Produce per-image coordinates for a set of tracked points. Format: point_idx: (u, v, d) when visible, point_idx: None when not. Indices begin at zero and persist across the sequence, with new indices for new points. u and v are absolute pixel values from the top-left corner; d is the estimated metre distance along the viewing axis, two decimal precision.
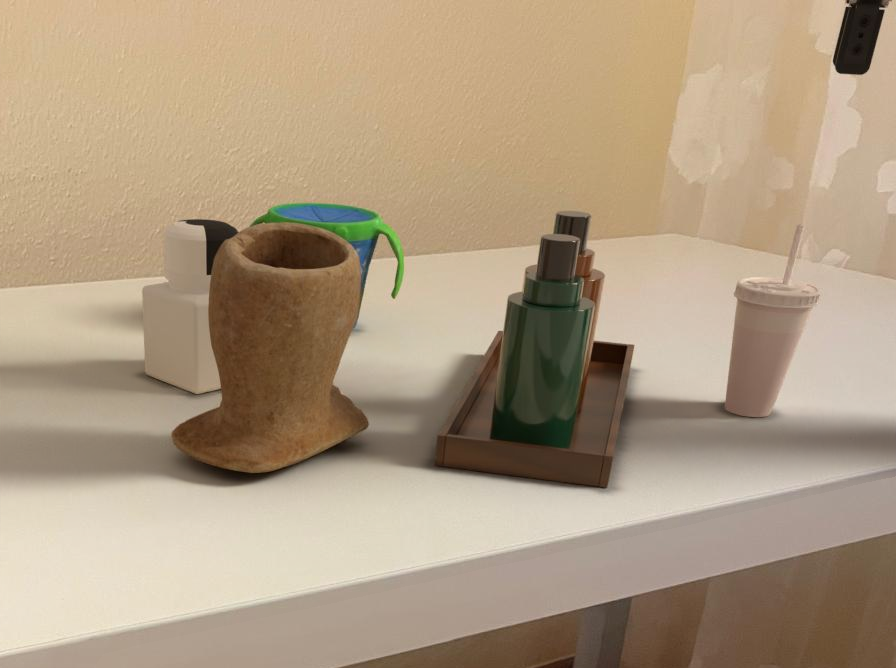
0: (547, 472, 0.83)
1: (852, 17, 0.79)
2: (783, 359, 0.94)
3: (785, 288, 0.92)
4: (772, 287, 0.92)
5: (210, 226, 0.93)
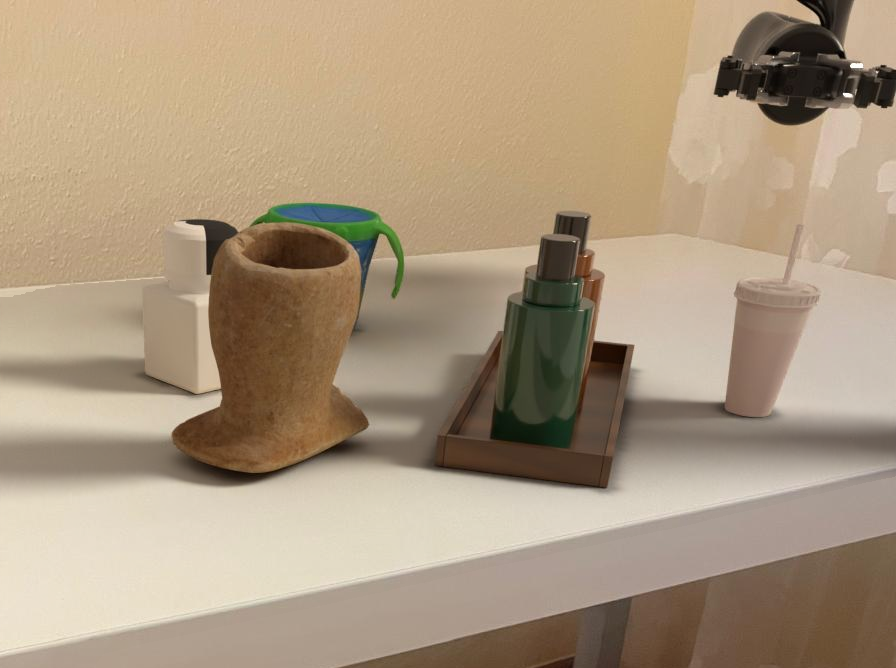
0: (547, 472, 0.83)
1: None
2: (783, 359, 0.94)
3: (785, 288, 0.92)
4: (772, 287, 0.92)
5: (210, 226, 0.93)
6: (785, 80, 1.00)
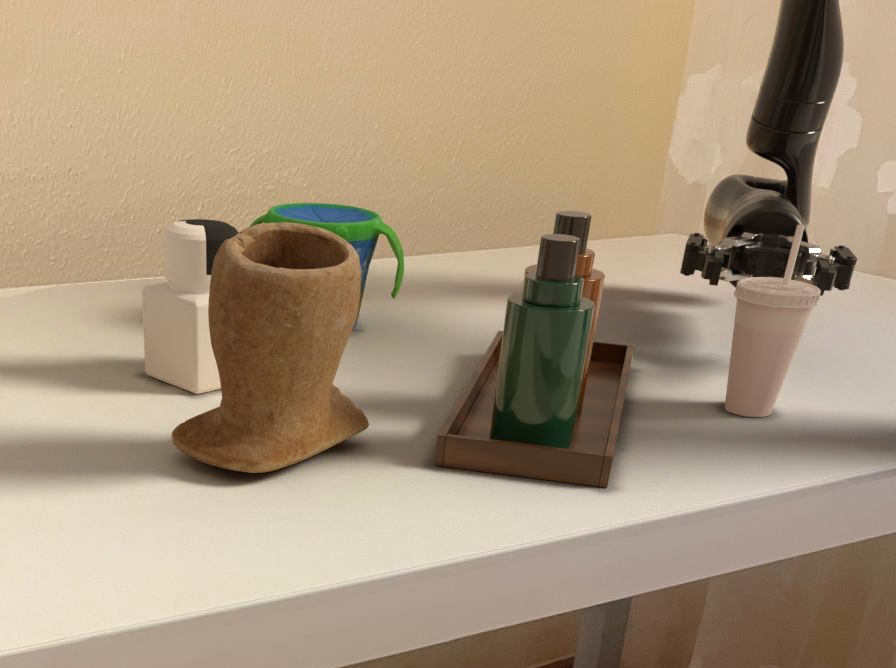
0: (547, 472, 0.83)
1: None
2: (783, 359, 0.94)
3: (785, 288, 0.92)
4: (772, 287, 0.92)
5: (210, 226, 0.93)
6: (748, 260, 1.05)
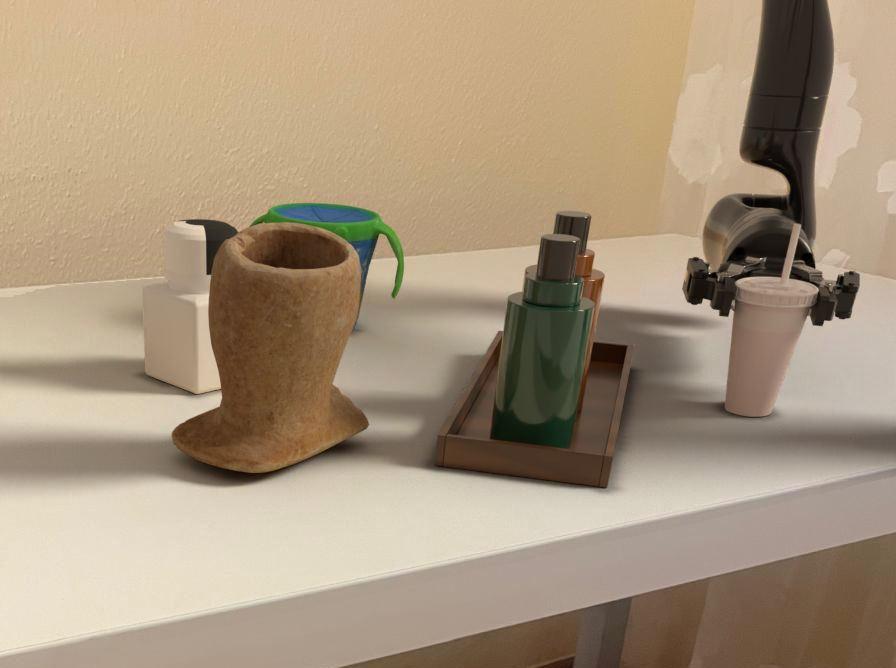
0: (547, 472, 0.83)
1: None
2: (782, 359, 0.94)
3: (783, 288, 0.92)
4: (770, 287, 0.92)
5: (210, 226, 0.93)
6: None
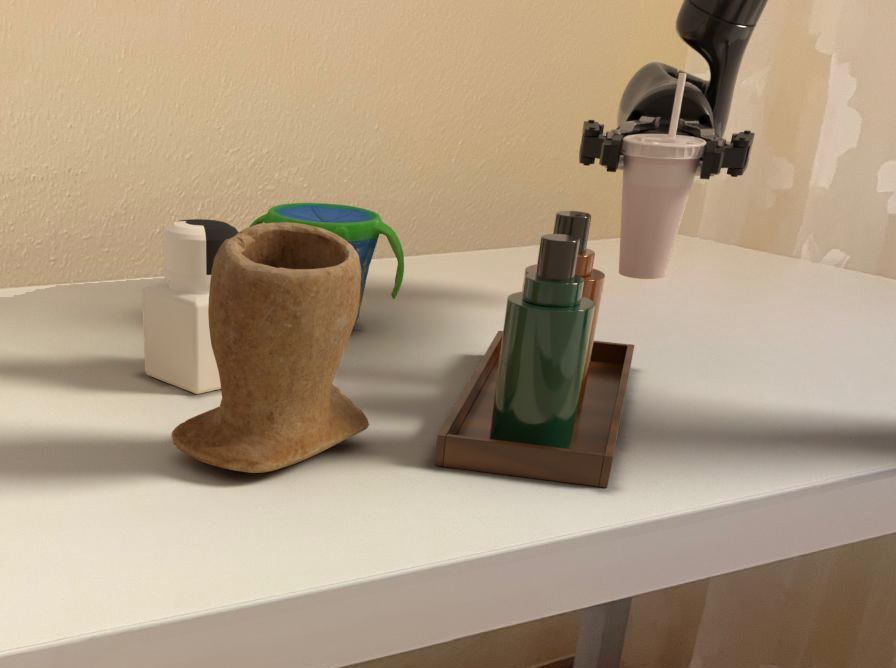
0: (547, 472, 0.83)
1: None
2: (671, 216, 0.93)
3: (669, 140, 0.91)
4: (656, 140, 0.91)
5: (210, 226, 0.93)
6: None
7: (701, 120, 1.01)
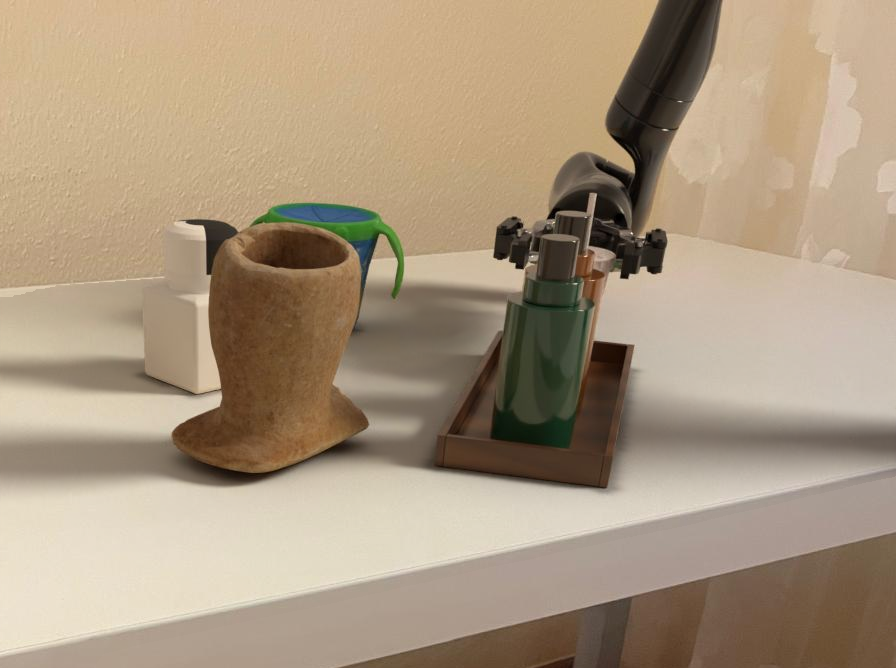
0: (547, 472, 0.83)
1: None
2: None
3: None
4: None
5: (210, 226, 0.93)
6: None
7: (618, 216, 1.07)
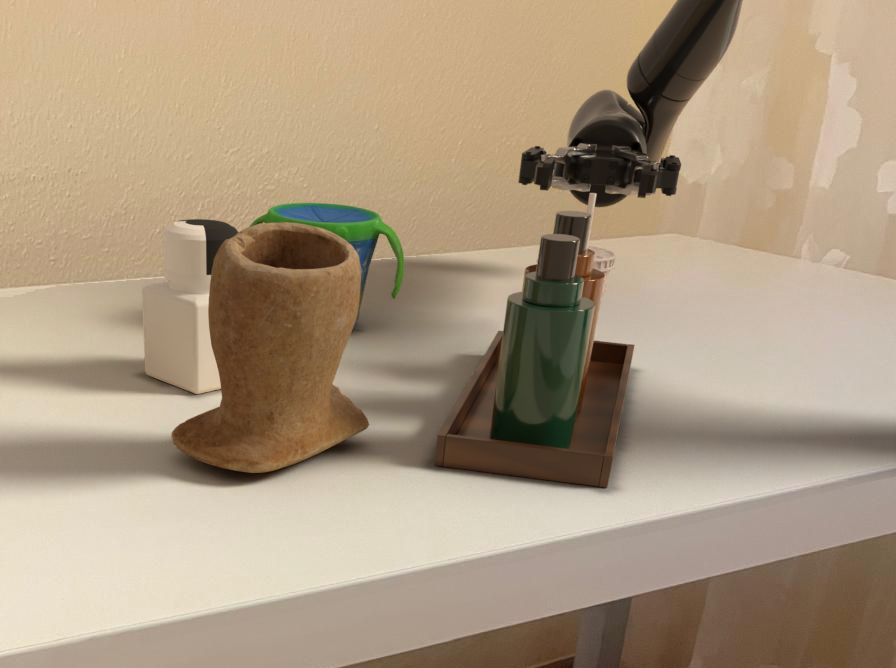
0: (547, 472, 0.83)
1: None
2: None
3: None
4: None
5: (210, 226, 0.93)
6: (582, 169, 1.10)
7: (634, 147, 1.15)
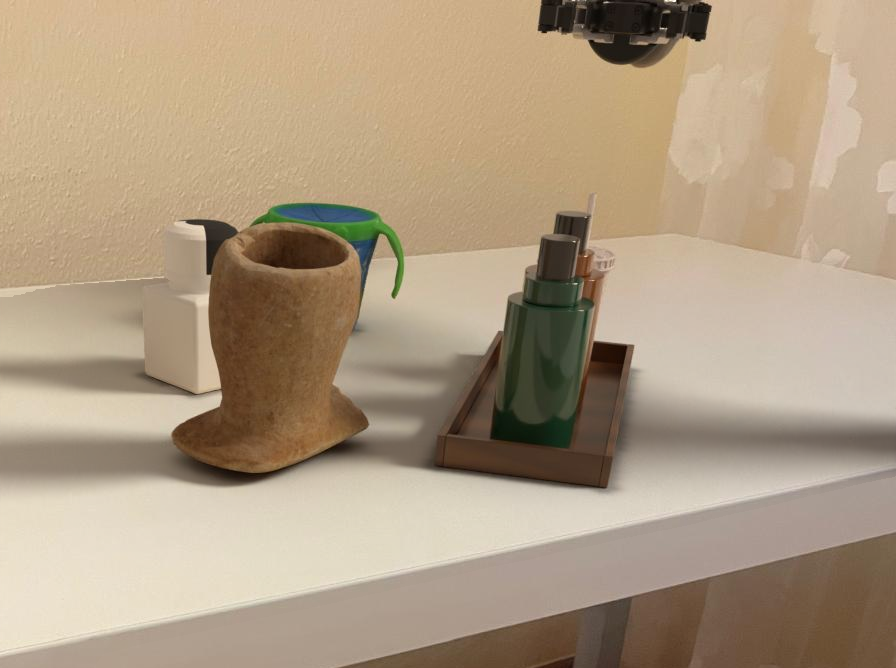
0: (547, 472, 0.83)
1: None
2: None
3: None
4: None
5: (210, 226, 0.93)
6: (605, 16, 1.03)
7: None
